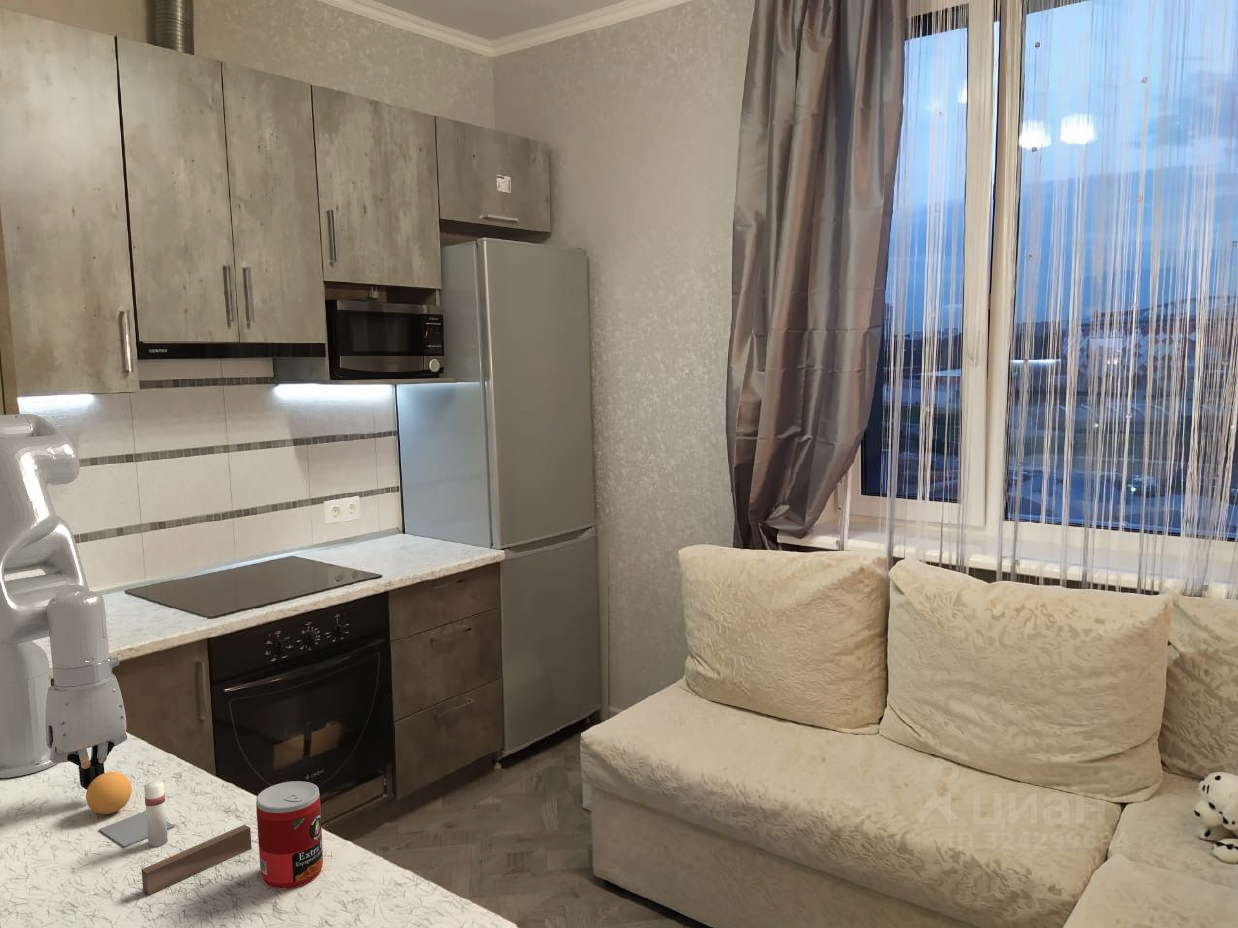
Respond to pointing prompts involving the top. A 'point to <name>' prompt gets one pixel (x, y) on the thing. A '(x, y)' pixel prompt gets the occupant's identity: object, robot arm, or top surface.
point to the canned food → (289, 834)
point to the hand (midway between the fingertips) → (93, 788)
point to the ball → (108, 793)
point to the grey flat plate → (129, 830)
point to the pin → (156, 813)
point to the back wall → (195, 859)
